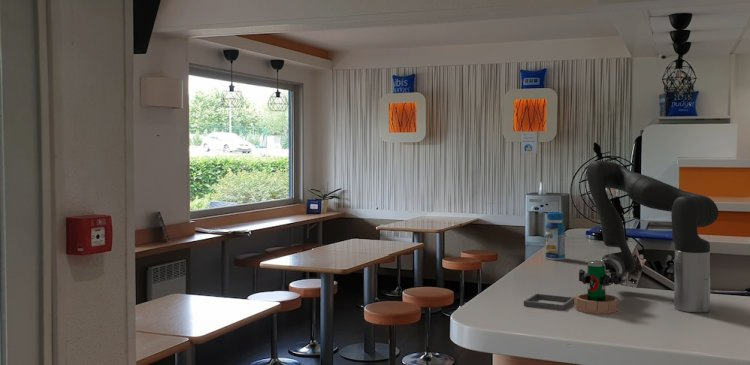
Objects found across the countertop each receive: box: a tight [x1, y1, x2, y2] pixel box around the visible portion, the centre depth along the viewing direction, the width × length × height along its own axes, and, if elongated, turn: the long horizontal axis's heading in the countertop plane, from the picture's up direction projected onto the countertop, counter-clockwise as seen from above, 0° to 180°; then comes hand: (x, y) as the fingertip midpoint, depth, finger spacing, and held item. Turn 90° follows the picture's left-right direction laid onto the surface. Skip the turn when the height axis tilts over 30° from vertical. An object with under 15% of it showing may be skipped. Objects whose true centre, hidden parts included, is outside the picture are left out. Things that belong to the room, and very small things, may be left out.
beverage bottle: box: [544, 211, 566, 261], centre depth 288 cm, size 8×8×20 cm
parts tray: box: [523, 293, 575, 311], centre depth 203 cm, size 12×12×2 cm
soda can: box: [586, 260, 607, 301], centre depth 196 cm, size 5×5×12 cm
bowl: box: [573, 292, 620, 315], centre depth 196 cm, size 12×12×4 cm
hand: (594, 281), depth 193 cm, fingers closed on soda can, 5 cm apart
